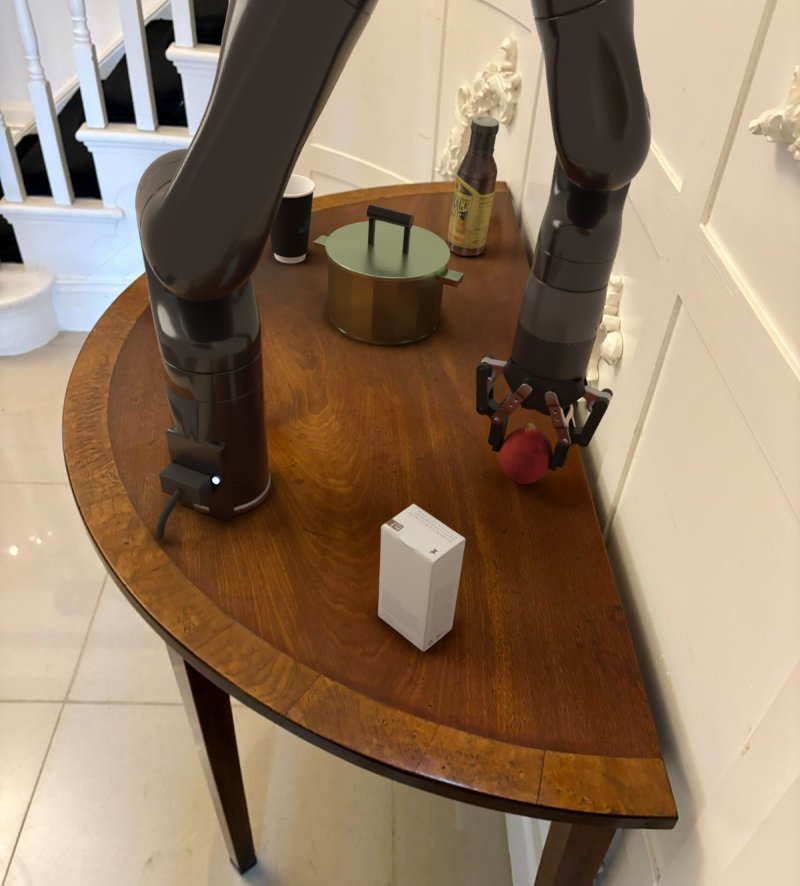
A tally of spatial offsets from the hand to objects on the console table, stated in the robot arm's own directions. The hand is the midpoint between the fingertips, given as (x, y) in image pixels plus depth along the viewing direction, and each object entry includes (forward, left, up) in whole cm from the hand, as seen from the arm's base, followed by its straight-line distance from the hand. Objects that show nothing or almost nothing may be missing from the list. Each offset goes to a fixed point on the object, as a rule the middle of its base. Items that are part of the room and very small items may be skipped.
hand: (525, 456), depth 86 cm
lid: (+25, +28, +6) cm, 38 cm away
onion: (0, 0, -4) cm, 4 cm away
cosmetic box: (-24, +3, -4) cm, 24 cm away
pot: (+25, +28, -4) cm, 38 cm away
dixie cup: (+34, +48, -4) cm, 59 cm away
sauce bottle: (+51, +25, -4) cm, 57 cm away
